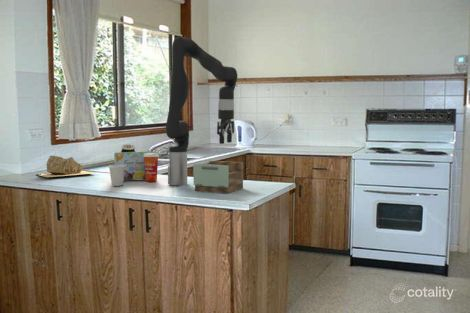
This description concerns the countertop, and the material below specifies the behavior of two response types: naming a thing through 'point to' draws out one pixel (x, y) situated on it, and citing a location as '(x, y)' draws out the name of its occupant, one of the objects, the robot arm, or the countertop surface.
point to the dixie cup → (117, 174)
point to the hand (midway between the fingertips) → (225, 143)
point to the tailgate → (211, 175)
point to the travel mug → (128, 148)
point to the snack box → (131, 164)
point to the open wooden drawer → (234, 178)
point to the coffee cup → (151, 166)
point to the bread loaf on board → (63, 167)
